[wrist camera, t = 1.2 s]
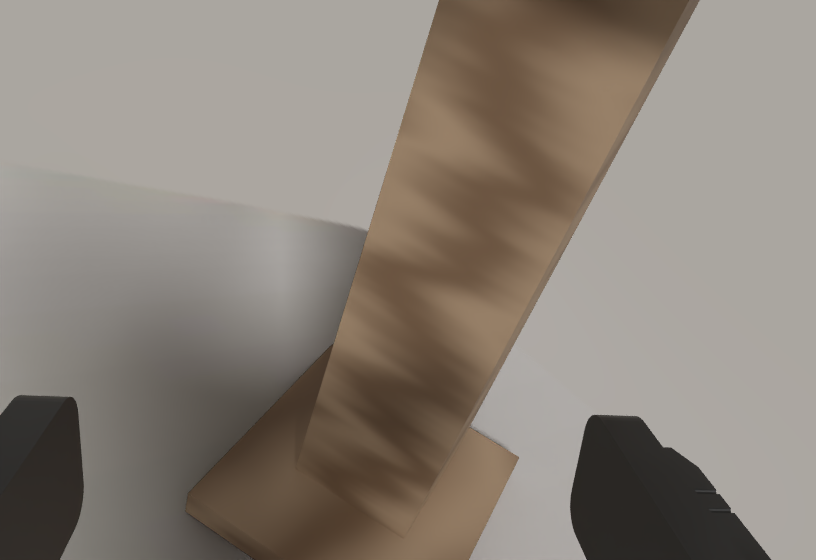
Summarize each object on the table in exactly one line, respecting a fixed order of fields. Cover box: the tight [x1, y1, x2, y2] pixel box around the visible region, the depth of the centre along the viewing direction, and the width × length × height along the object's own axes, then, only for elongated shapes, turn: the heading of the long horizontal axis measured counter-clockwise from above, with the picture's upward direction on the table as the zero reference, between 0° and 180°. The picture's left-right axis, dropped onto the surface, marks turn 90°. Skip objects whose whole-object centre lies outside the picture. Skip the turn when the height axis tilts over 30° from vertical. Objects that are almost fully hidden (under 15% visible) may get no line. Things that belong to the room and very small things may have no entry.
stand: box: [185, 0, 699, 560], centre depth 26 cm, size 12×12×30 cm
